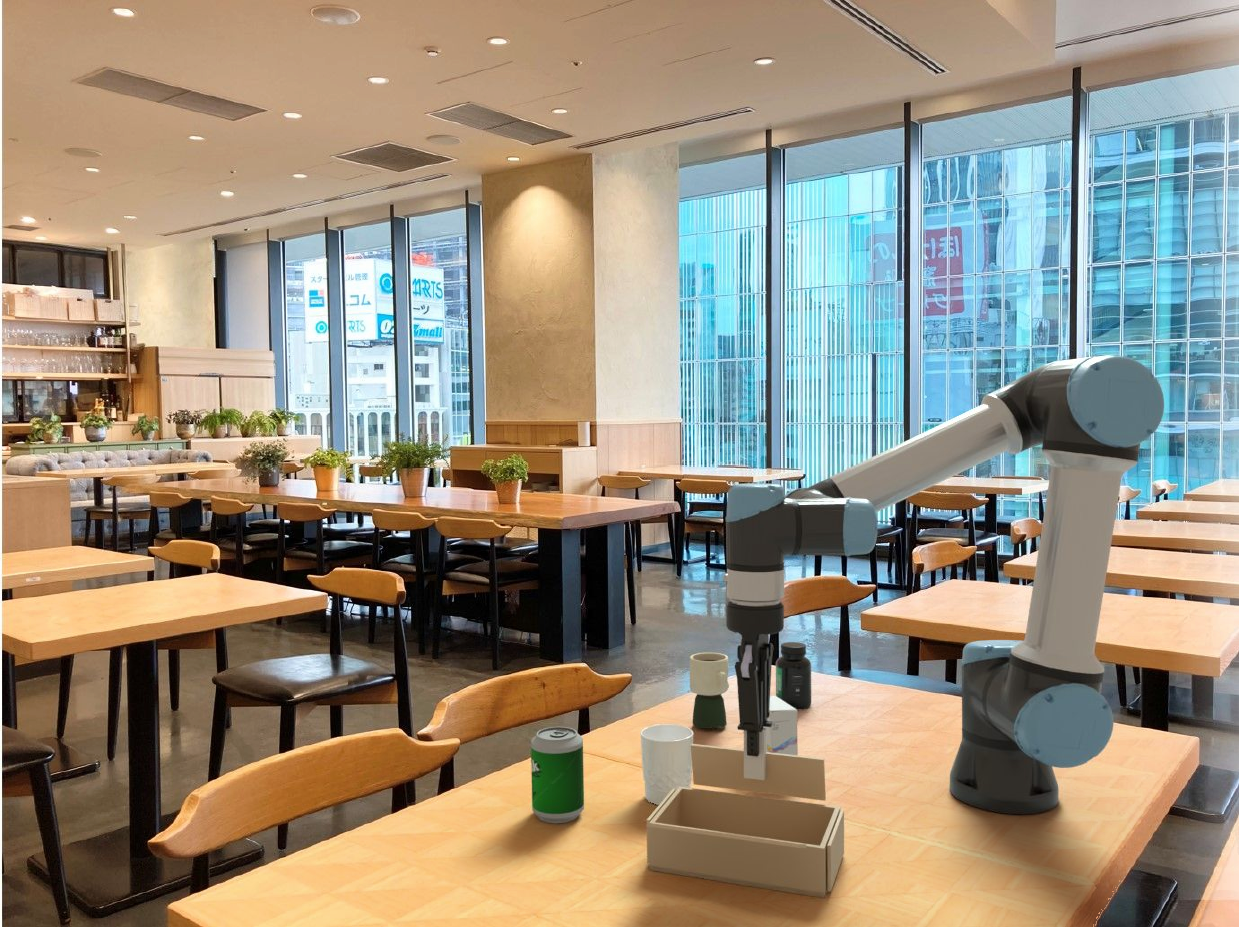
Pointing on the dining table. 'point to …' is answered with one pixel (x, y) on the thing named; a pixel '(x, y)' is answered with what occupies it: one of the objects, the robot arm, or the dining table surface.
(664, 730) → the white cup
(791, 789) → the flap far
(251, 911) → the dining table surface
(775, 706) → the ink box
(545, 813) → the soda can
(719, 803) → the carton
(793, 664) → the supplement bottle
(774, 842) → the flap near
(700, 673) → the character mug
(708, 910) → the dining table surface
